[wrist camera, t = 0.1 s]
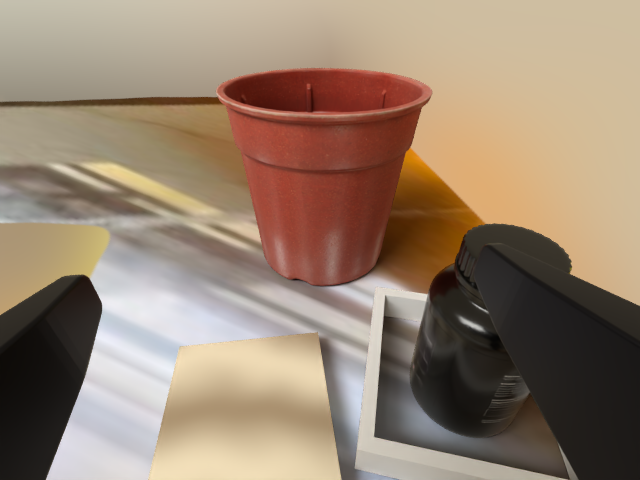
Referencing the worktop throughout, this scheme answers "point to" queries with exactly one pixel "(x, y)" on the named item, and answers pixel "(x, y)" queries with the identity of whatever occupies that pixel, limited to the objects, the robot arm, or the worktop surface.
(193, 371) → the birch board
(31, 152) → the worktop surface
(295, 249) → the flower pot
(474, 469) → the frame
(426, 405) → the supplement bottle
